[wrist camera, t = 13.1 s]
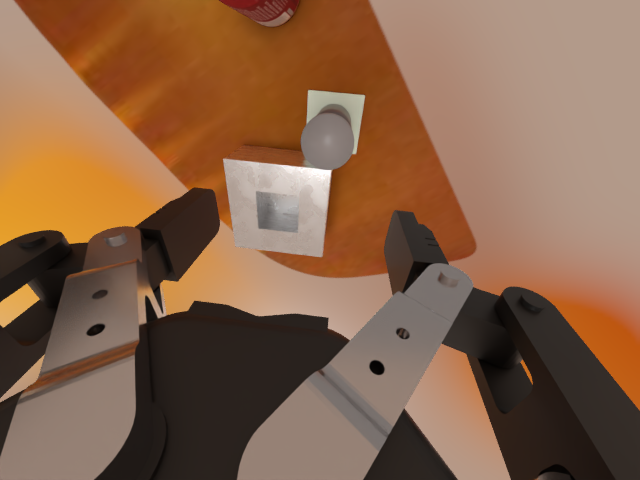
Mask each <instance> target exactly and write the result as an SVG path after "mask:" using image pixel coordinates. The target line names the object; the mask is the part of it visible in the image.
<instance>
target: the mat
mask: <svg viewBox="0 0 640 480" xmlns="http://www.w3.org/2000/svg"><path fill="white" fill-rule="evenodd" d="M364 100H365V95H359V94H348V93H338V92H327V91H317V90H308V104H307V123H308V122H309V121H310V120H311V119H312V118H314V117H315V116H316V115H317V114H318V113H319V112H320V110H321V109H322V108H323V107H325V106H327V105H329V104H339V105H341V106H343V107H344V108H345V109H346V110H347V111H348V112H349V114H350V117H351V127H352V131H353V134H354V149H353V152H352V154H356V151H357V145H358V138H359V132H360V125H361V119H362V113H363V106H364Z"/></svg>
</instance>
